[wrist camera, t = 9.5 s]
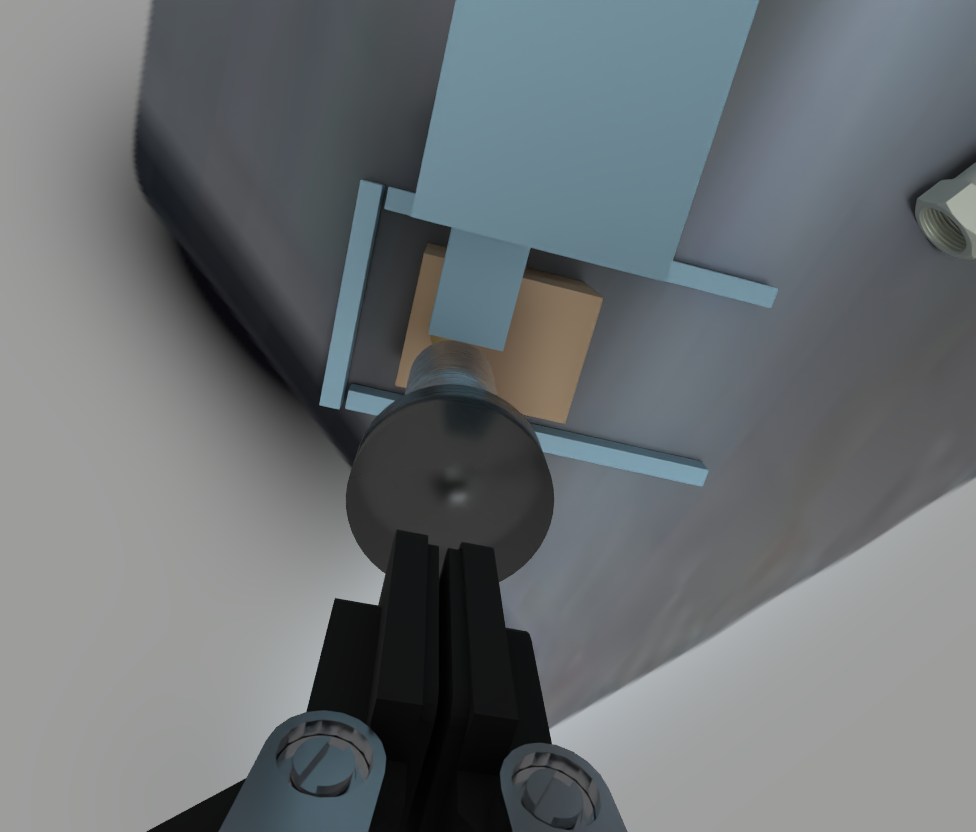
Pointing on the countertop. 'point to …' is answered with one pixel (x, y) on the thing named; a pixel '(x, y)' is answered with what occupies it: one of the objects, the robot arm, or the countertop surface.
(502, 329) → the press
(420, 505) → the ram
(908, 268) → the countertop surface
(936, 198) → the pipe fitting
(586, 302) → the housing
